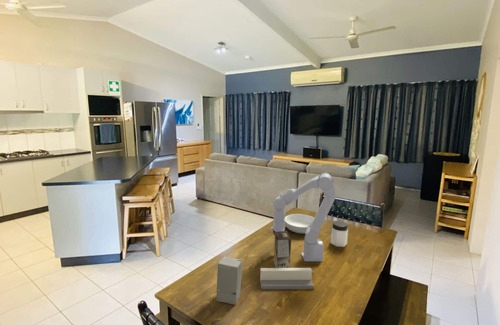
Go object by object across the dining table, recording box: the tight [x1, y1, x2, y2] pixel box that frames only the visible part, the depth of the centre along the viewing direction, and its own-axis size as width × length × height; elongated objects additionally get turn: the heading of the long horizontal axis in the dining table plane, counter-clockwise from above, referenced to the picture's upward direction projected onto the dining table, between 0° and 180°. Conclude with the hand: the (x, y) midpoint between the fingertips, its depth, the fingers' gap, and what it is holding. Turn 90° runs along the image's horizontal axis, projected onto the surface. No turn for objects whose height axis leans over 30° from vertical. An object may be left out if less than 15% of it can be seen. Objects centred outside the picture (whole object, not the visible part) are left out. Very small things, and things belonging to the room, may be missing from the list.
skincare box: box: [215, 255, 243, 306], centre depth 105 cm, size 8×7×16 cm
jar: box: [330, 220, 349, 248], centre depth 151 cm, size 9×8×12 cm
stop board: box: [259, 267, 315, 290], centre depth 114 cm, size 22×6×6 cm, turn 92°
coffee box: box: [273, 230, 292, 268], centre depth 127 cm, size 9×6×16 cm
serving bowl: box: [284, 213, 315, 235], centre depth 169 cm, size 21×21×7 cm
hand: (278, 244), depth 141 cm, fingers closed
